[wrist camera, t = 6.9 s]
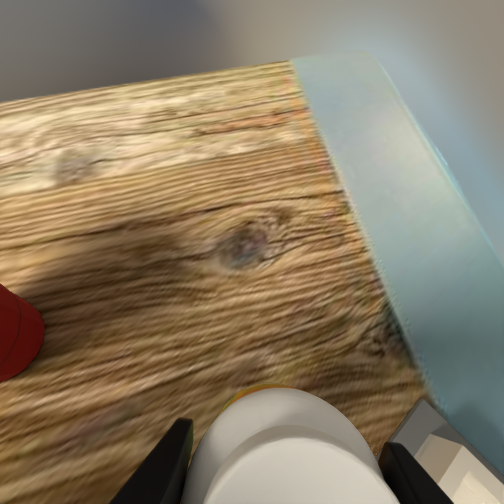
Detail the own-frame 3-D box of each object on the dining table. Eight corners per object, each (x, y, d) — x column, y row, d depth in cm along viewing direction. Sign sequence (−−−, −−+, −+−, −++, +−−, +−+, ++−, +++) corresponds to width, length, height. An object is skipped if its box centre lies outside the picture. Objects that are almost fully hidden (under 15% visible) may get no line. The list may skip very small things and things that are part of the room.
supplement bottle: (222, 375, 15) (181, 374, 6) (325, 390, 14) (452, 414, 5) (201, 506, 12) (82, 840, 4) (322, 526, 12) (526, 937, 3)
